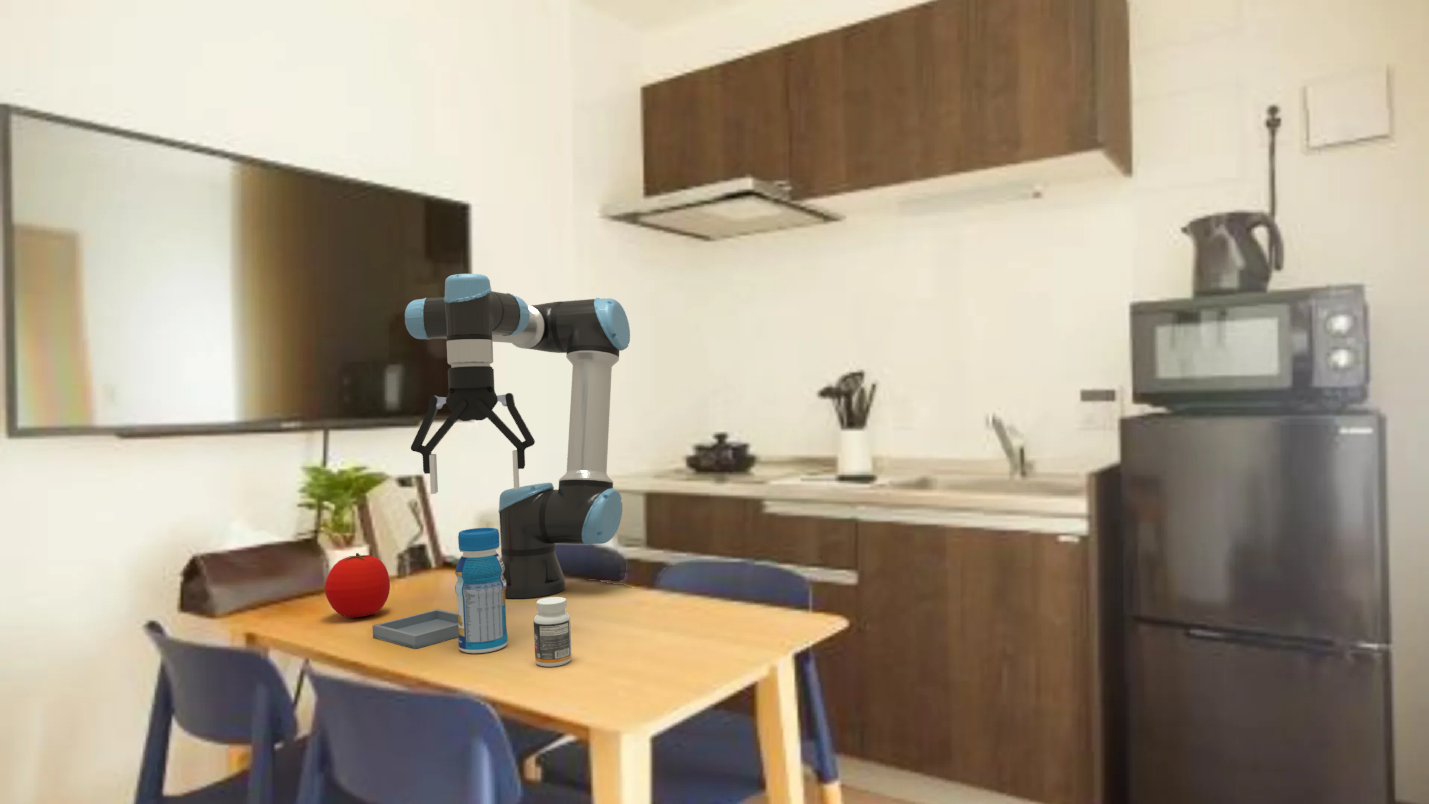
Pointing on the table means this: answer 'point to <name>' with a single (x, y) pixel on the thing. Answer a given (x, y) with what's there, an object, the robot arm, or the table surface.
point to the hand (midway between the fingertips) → (475, 491)
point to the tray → (419, 629)
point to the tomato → (357, 586)
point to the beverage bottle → (480, 592)
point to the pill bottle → (552, 632)
